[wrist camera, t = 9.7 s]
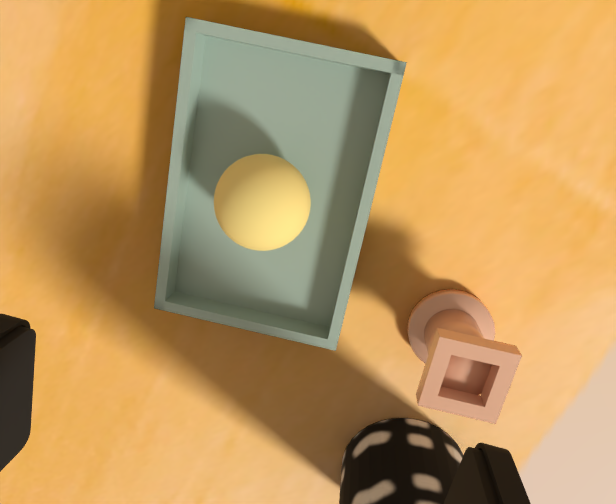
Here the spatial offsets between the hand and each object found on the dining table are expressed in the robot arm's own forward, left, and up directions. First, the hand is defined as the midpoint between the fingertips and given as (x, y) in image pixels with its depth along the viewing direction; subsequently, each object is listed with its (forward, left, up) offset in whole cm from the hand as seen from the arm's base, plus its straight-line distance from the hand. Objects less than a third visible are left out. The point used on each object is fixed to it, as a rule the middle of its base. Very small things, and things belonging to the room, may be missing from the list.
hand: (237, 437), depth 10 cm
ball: (-1, -3, -19) cm, 19 cm away
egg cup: (+5, +9, -20) cm, 22 cm away
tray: (-1, -3, -20) cm, 20 cm away
